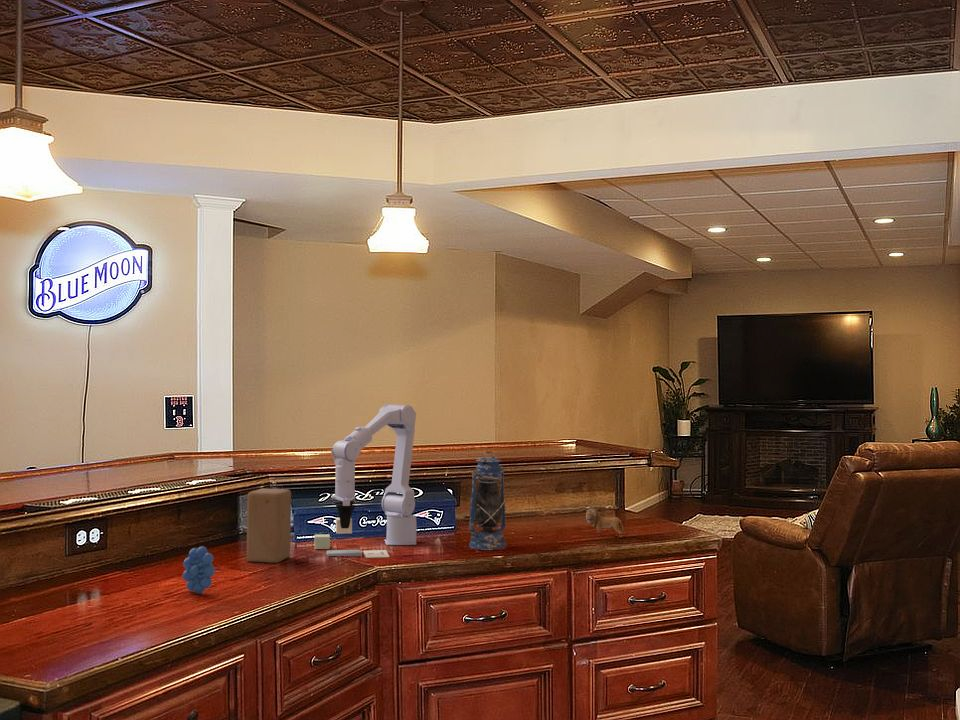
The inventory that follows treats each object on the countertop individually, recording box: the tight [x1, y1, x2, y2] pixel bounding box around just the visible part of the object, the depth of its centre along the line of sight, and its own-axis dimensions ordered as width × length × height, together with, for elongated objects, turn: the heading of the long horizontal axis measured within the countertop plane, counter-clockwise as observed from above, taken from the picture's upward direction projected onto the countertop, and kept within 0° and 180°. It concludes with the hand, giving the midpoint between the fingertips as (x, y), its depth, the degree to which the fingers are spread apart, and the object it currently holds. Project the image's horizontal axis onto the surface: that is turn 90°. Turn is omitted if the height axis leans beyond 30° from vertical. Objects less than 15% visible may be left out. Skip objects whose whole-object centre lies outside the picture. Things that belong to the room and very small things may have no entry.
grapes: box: [182, 545, 216, 595], centre depth 248 cm, size 12×7×12 cm, turn 52°
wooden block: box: [246, 488, 292, 564], centre depth 289 cm, size 10×10×20 cm
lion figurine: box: [585, 508, 626, 535], centre depth 334 cm, size 15×5×9 cm, turn 70°
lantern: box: [468, 451, 507, 550], centre depth 312 cm, size 15×12×30 cm
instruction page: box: [362, 549, 391, 559], centre depth 299 cm, size 7×10×1 cm
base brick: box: [326, 549, 363, 558], centre depth 297 cm, size 10×5×2 cm, turn 103°
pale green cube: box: [314, 533, 331, 550], centre depth 307 cm, size 4×4×4 cm
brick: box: [335, 517, 353, 535], centre depth 297 cm, size 4×4×4 cm
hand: (344, 526), depth 297 cm, fingers closed on brick, 4 cm apart
